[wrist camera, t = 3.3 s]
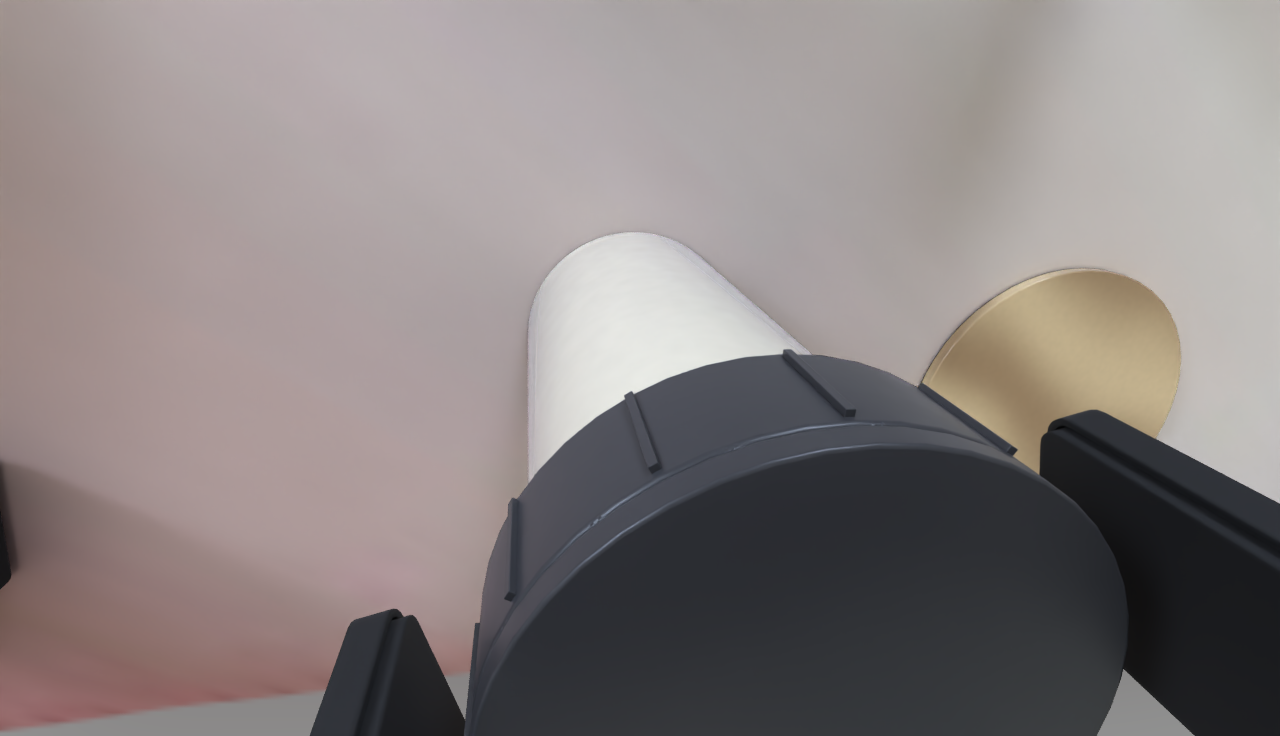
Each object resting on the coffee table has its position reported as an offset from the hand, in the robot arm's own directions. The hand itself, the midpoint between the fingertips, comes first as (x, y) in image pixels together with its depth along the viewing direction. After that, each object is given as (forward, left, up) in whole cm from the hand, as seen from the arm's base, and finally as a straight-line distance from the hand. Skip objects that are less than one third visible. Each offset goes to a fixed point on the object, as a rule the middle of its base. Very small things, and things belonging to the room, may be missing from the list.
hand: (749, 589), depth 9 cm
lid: (0, 0, +2) cm, 2 cm away
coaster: (-1, +15, -11) cm, 18 cm away
